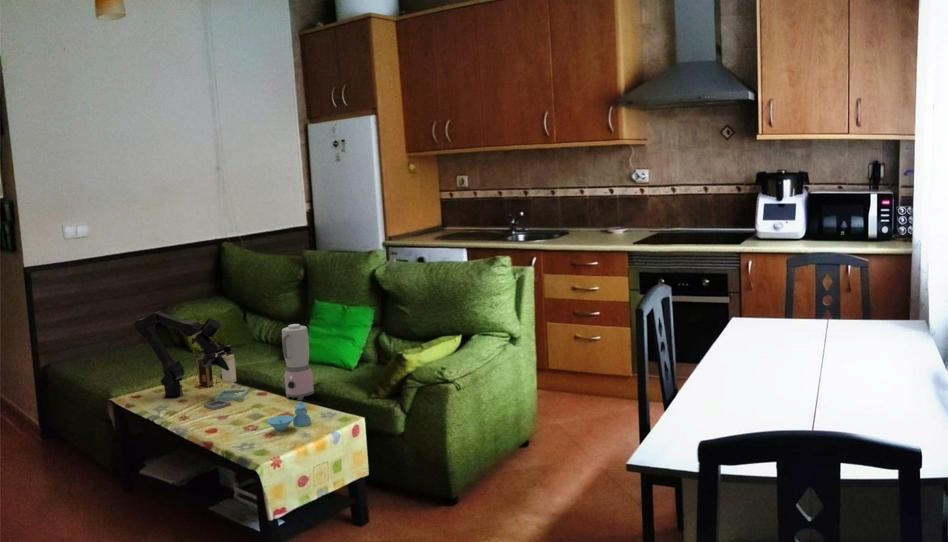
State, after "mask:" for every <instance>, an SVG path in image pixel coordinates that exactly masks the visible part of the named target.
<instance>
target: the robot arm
mask: <svg viewBox="0 0 948 542" xmlns="http://www.w3.org/2000/svg"><path fill="white" fill-rule="evenodd" d="M157 323H159V324H162V325H165V326H168V327H171V328H173V329H176V330H178V331H180V333H182V335H184V336H186V337H191V343H190V344H191V345H194V344H197V346H198V347H200V348H202V349H201V353H202V352H203V353H204V354H203V357H202V356H201V357H200V358H198V361H197V360H196V363H197V362H198V363H199V365H201V367H203V366H204V367H206V368H208V367H209V366H215V365H216V367H219V368H220V369H222V368H223V369H225V370H227V371H228V370H229V368H228V366H227V364H226V362H225V361H224V359H223V358H222V356H224V355H232V352H233V351H234V350H235V347H234V346H233V344H228V345H226V346H224V347H223V346H219V344H217V340H215V339H214V340H213V339H212V338H213V337H215V336H216V334H217V333H218V332H219V331H220V329H221V328H222V324H221V323H220V322H219V321H217V320H215V319H212V318H211V317H209V318H207V319H206V320H205V322H204V323H200V322H199V321H197V320H196V321H195V320H190V319H189V320H184V319H183V318H182V319H181V318H178V317H175V316H172V315H171V314H170V315H169V314H166V313H164V312H163V311H160V310H159V311H155V312H152V313H151V314H149V315H148V316H145V317H142V318H139V319H137V320H135V321H134V324H133V328H134V330H135V332H137V334H138V335H139V336H141V337H142V338H144V339H145V340H146V341H147V344H149V346H150V348H151V349H152V351H153V353H154V354H155V356H156V357H157V359H158V360H159V362H160V363H161V365H162V372H163V375H164V376H163V377H162V378H161V379H160V384H161V385H162V386H164V387H163V389H164V396H163V398H164V399H173V398H179V397H180V396H182V395H183V387H182V384H181V381H183V377H184V375H185V367H184V366H183V365H182V363H181V361H180V360H174V359H173V357H172V356H171V354H170V353H169V352H168V350H167V348H166V347H165V345H164V343H163V341H162V340H161V339H160V337H159V335H158V334H157V328H156V327H157V326H156V324H157ZM192 336H194V337H192ZM181 394H182V395H181Z"/></svg>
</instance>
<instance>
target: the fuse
mask: <svg viewBox="0 0 948 542" xmlns="http://www.w3.org/2000/svg"><path fill="white" fill-rule="evenodd" d="M222 358H223V359H224V361H225V362H226V364H227V366H228V368H229V370H228V371H227V370H225V369H223V368H221V377H222V381H223V382H222V384H227V385H228V384H229V385H231V384H234V383H235V382H237V371H236V370H237V369H236V360H235V354H231V355H224V356H222Z"/></svg>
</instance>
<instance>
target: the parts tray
mask: <svg viewBox="0 0 948 542" xmlns="http://www.w3.org/2000/svg"><path fill="white" fill-rule="evenodd" d="M239 392H243V393H242V394H241V395H239V396H238V394H237V395H236V394H235V393H239ZM247 392H248V393H249V388H246V389H224V390H221V391H220V392H219V393H218V394H217V395H216V396H214V401H217V400H223V401H240V400H243V399H244V398H245V396H246V395H247V394H248V393H247ZM246 393H247V394H246ZM245 394H246V395H245Z"/></svg>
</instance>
